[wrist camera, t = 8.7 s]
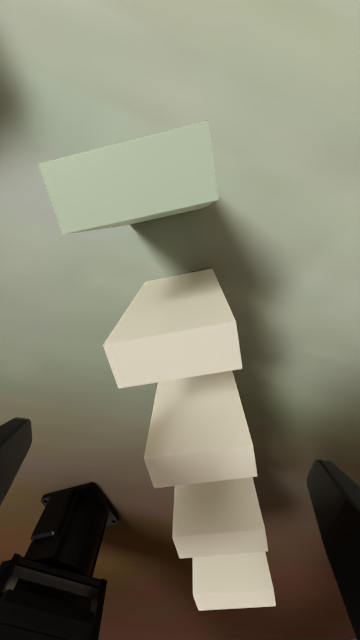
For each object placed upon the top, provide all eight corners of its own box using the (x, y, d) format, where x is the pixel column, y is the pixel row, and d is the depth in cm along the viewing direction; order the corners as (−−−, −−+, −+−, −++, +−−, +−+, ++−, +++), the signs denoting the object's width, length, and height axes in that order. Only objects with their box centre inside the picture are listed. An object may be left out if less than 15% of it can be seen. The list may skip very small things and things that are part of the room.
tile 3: (227, 363, 21) (257, 476, 12) (168, 372, 22) (154, 488, 13) (224, 341, 21) (253, 445, 11) (163, 352, 21) (143, 458, 12)
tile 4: (216, 294, 19) (242, 368, 10) (151, 307, 20) (118, 388, 10) (212, 268, 18) (235, 321, 9) (145, 281, 19) (102, 345, 10)
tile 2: (236, 418, 23) (268, 551, 14) (183, 426, 24) (179, 558, 15) (234, 401, 23) (265, 529, 14) (178, 409, 23) (172, 537, 14)
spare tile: (202, 208, 17) (218, 200, 8) (129, 224, 17) (63, 234, 8) (197, 174, 16) (208, 120, 7) (121, 192, 17) (37, 163, 7)
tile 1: (244, 465, 26) (275, 606, 16) (195, 470, 26) (198, 610, 17) (242, 450, 25) (273, 589, 16) (191, 456, 25) (192, 594, 16)
